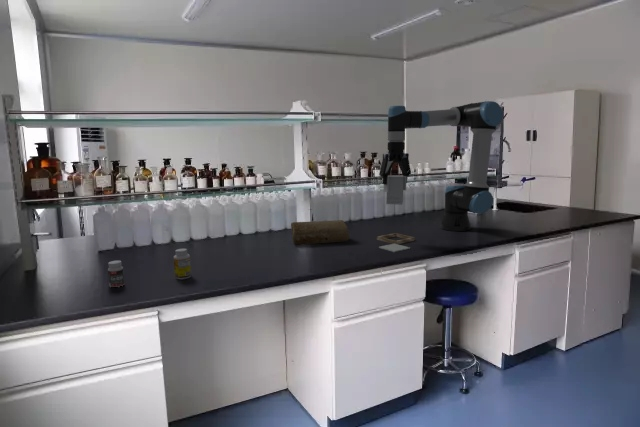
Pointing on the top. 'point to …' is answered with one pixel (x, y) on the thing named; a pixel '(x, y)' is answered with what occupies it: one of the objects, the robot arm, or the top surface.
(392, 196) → the supplement box
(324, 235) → the core sample
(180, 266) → the supplement bottle
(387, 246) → the sage pad
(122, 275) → the pill bottle
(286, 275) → the top surface
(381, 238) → the wooden collar
